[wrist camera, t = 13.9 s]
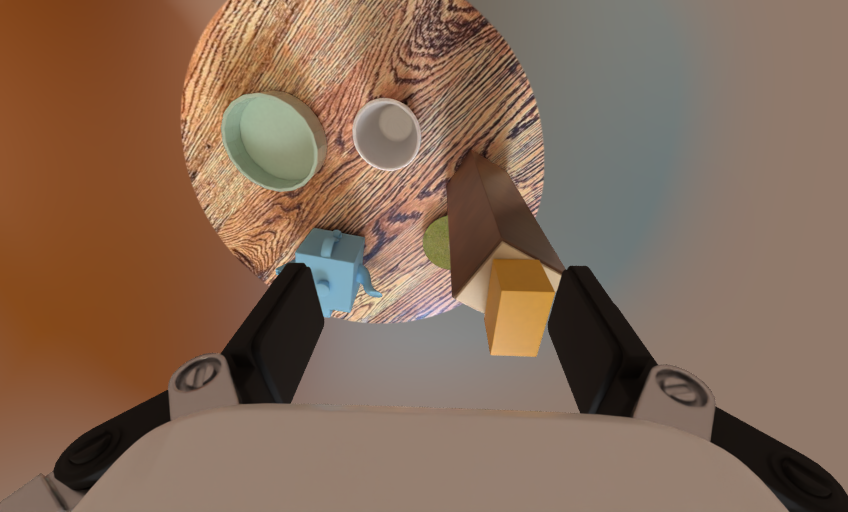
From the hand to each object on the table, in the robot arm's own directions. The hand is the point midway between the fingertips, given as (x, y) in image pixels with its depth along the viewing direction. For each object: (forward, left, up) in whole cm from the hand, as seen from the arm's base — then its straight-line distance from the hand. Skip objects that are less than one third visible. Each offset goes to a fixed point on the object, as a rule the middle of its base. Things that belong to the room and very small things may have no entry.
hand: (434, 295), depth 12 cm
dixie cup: (+3, -5, -40) cm, 40 cm away
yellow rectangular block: (+5, +10, -11) cm, 16 cm away
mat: (+15, +13, -40) cm, 45 cm away
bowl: (+14, -19, -40) cm, 46 cm away
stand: (+4, +10, -40) cm, 41 cm away
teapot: (+29, -3, -40) cm, 50 cm away
